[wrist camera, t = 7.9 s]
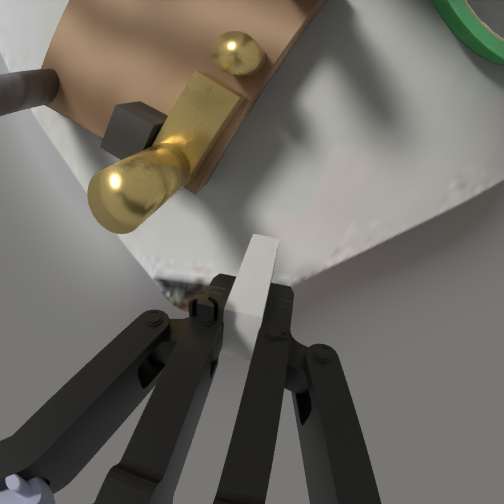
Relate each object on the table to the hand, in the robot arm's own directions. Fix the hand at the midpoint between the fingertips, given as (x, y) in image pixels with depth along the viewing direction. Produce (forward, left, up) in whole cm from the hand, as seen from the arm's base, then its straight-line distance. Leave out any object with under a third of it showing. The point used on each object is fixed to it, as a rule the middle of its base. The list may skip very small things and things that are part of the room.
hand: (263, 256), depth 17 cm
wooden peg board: (-8, -15, -6) cm, 18 cm away
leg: (-5, -7, -3) cm, 9 cm away
